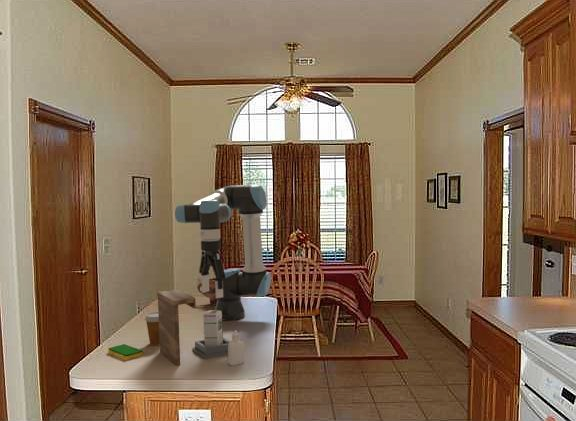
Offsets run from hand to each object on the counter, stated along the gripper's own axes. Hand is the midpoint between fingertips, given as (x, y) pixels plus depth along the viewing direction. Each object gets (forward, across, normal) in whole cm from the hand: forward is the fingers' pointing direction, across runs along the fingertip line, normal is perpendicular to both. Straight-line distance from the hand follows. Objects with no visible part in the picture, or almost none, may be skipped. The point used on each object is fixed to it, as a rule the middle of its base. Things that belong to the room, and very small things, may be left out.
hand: (212, 294), depth 206 cm
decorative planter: (+23, -78, +34) cm, 88 cm away
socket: (+22, 0, 0) cm, 22 cm away
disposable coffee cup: (+22, -24, -15) cm, 36 cm away
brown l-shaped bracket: (+22, -2, -14) cm, 26 cm away
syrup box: (+21, 0, 0) cm, 21 cm away
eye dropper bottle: (+22, +18, +1) cm, 29 cm away
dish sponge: (+23, -17, -30) cm, 41 cm away
